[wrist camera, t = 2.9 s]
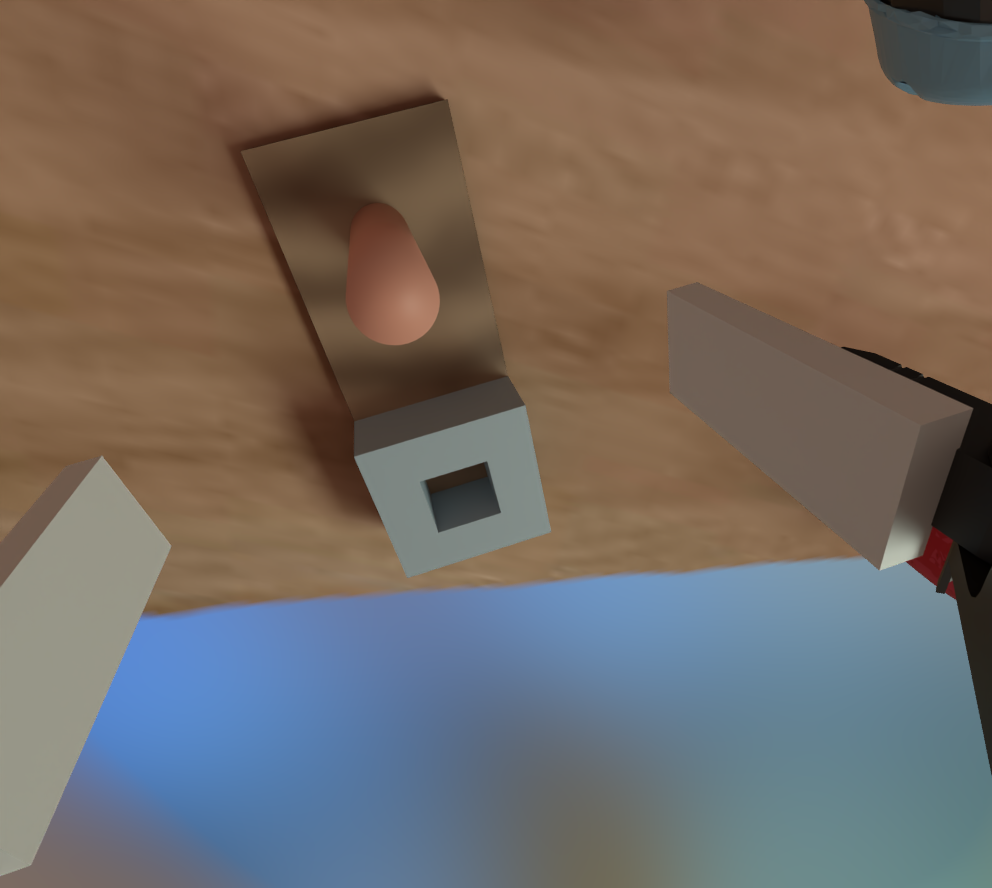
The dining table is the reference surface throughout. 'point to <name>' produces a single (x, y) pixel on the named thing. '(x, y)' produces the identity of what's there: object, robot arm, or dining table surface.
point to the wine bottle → (934, 559)
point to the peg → (388, 278)
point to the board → (436, 229)
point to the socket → (446, 448)
